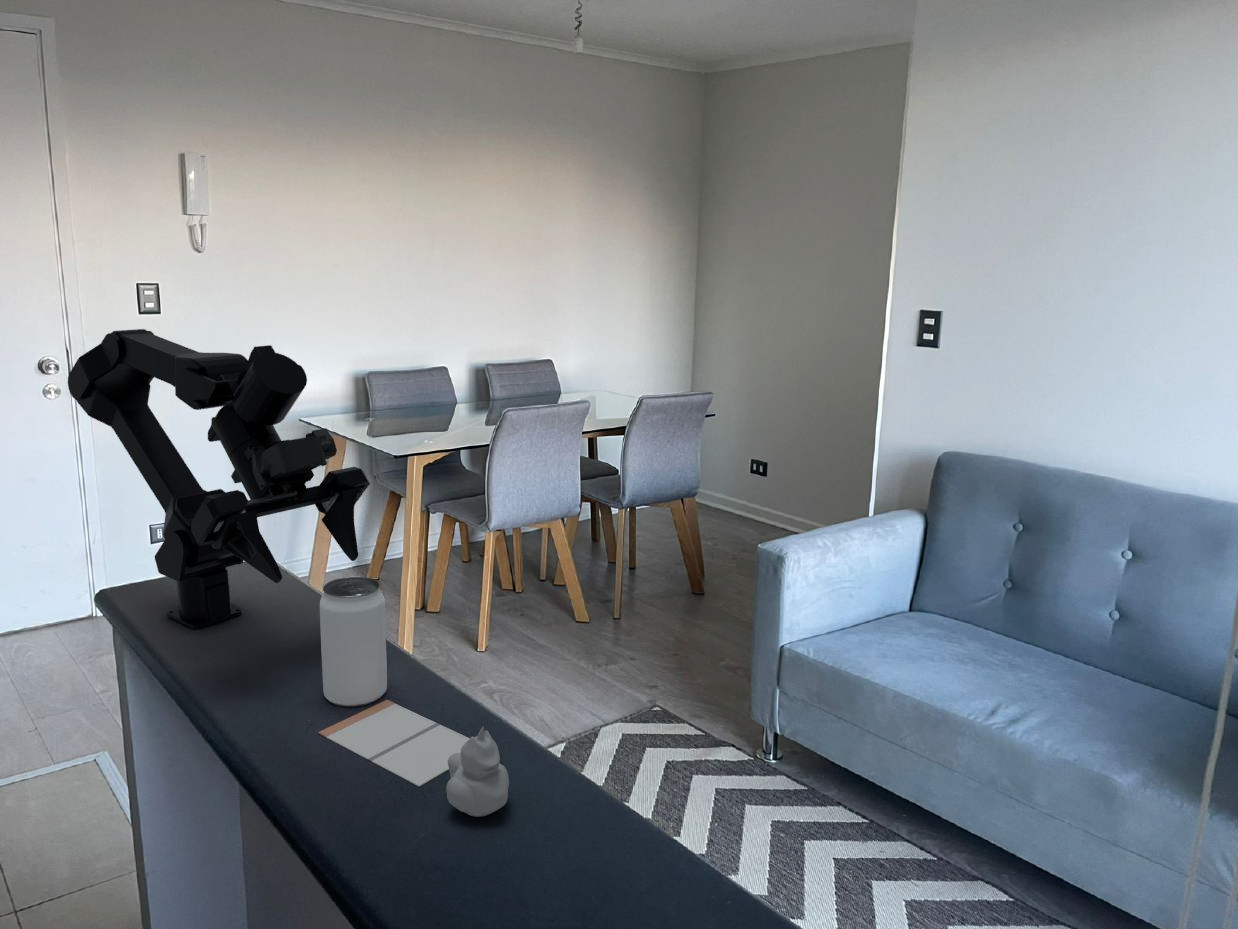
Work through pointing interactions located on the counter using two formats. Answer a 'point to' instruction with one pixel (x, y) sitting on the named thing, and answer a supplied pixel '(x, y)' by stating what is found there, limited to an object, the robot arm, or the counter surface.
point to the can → (353, 641)
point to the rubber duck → (477, 777)
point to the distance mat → (398, 741)
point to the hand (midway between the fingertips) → (318, 569)
